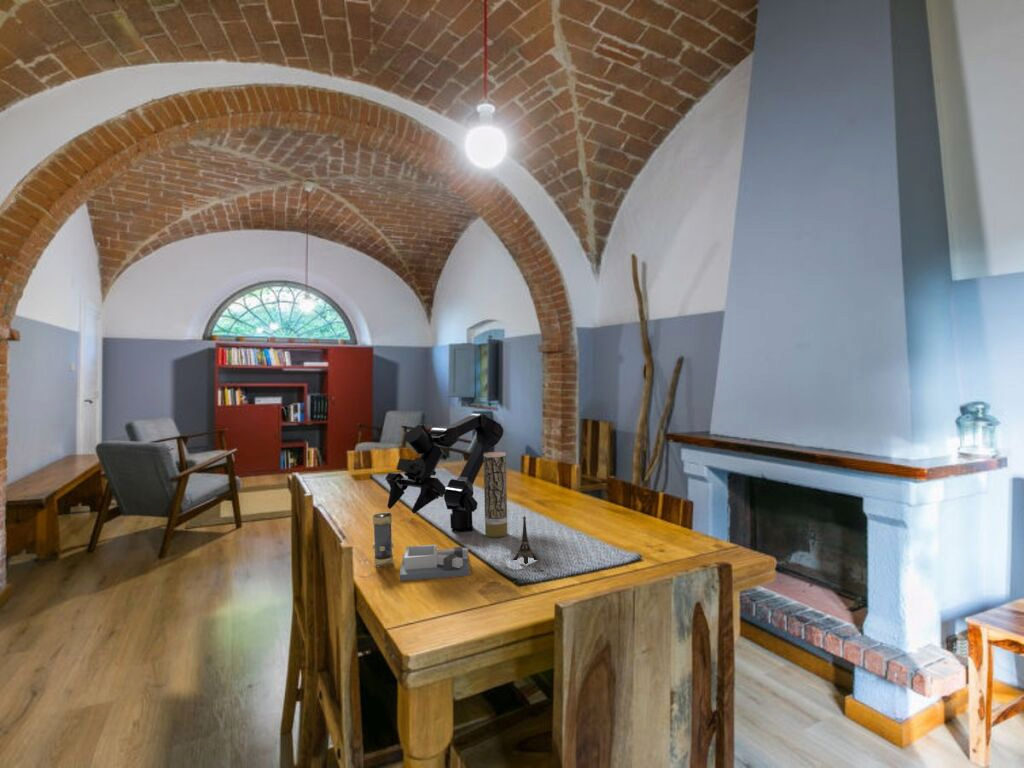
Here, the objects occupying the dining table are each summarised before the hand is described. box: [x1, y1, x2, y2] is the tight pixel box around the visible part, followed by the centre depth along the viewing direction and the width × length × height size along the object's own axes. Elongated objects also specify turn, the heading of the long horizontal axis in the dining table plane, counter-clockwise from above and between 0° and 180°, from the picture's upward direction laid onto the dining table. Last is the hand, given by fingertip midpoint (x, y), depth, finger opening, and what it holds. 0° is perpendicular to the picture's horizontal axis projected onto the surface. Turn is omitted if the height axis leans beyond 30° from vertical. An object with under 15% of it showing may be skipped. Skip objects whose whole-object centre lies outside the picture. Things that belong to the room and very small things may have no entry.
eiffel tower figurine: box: [512, 515, 540, 564], centre depth 135 cm, size 15×10×13 cm
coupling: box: [372, 512, 394, 568], centre depth 134 cm, size 5×5×13 cm
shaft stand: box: [399, 544, 471, 582], centre depth 131 cm, size 17×15×4 cm
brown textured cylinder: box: [483, 451, 508, 538], centre depth 156 cm, size 7×7×25 cm
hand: (400, 510), depth 140 cm, fingers open, 9 cm apart
